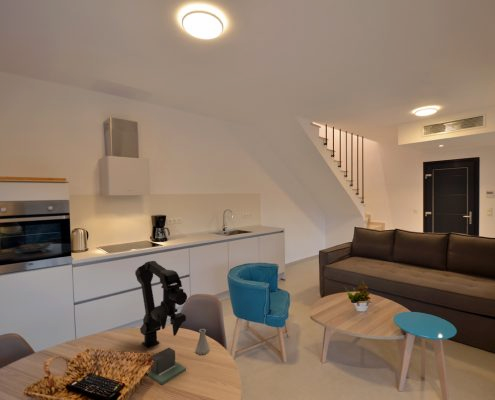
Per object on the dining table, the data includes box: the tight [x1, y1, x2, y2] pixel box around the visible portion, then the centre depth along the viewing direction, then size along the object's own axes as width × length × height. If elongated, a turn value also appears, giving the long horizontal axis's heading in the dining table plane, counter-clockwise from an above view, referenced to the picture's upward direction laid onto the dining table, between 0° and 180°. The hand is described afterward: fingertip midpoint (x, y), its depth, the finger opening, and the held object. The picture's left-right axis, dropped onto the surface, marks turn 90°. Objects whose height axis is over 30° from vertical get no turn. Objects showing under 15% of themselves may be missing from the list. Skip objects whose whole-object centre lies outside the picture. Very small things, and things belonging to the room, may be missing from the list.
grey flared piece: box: [194, 328, 211, 355], centre depth 134 cm, size 7×7×10 cm
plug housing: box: [150, 347, 176, 374], centre depth 118 cm, size 4×9×6 cm, turn 141°
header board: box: [147, 361, 187, 385], centre depth 118 cm, size 16×12×6 cm
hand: (168, 332), depth 128 cm, fingers open, 9 cm apart
